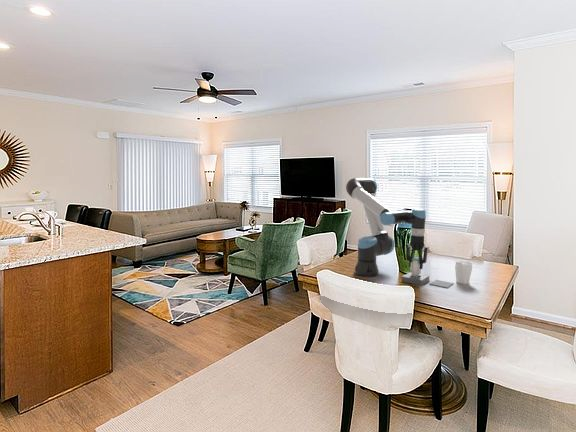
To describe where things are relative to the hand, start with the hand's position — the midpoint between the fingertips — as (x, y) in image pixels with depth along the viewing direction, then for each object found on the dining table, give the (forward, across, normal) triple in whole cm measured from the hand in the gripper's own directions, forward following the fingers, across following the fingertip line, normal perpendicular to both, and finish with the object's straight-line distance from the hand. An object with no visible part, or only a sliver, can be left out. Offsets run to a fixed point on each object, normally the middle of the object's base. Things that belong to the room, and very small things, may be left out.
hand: (415, 273), depth 218 cm
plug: (+5, 0, 0) cm, 5 cm away
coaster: (+5, +14, +4) cm, 16 cm away
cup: (+5, +22, +16) cm, 28 cm away
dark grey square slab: (+5, 0, 0) cm, 5 cm away
